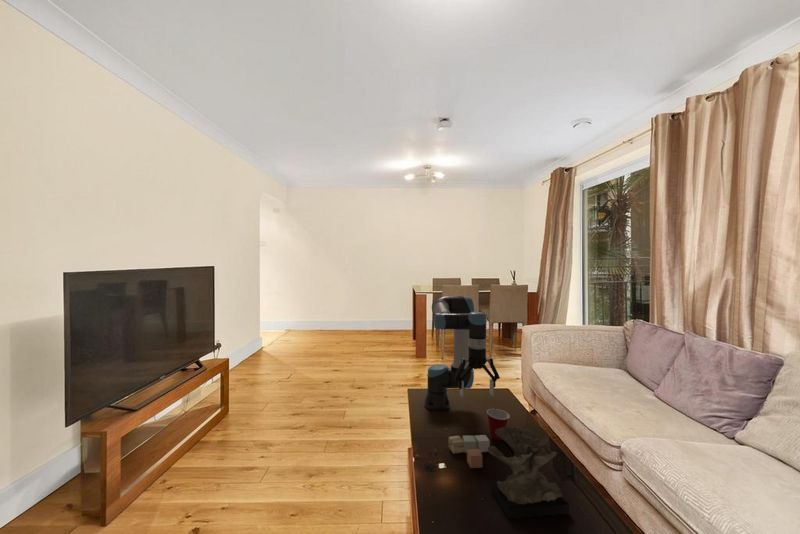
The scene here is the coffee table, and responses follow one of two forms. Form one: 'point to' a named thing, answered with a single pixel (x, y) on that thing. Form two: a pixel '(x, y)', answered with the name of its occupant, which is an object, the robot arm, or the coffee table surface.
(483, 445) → the offwhite cube
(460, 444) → the maple cube
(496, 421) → the plastic cup
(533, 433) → the coral
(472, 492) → the coffee table surface
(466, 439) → the sage cube
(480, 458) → the terracotta cube
